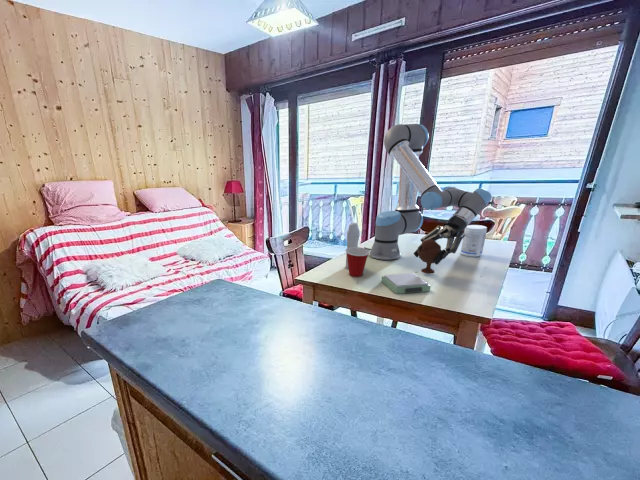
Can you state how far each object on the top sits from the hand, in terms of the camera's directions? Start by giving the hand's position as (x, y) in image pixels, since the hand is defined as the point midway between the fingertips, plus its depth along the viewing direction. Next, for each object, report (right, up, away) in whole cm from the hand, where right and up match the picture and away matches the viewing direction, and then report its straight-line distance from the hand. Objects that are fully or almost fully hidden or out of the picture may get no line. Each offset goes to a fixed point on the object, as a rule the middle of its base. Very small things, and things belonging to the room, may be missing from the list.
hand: (424, 259), depth 144 cm
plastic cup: (-28, -7, +8) cm, 30 cm away
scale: (-12, -12, -7) cm, 19 cm away
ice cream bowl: (+3, -6, +3) cm, 7 cm away
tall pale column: (-27, -2, +20) cm, 34 cm away
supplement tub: (+38, +5, +26) cm, 47 cm away
